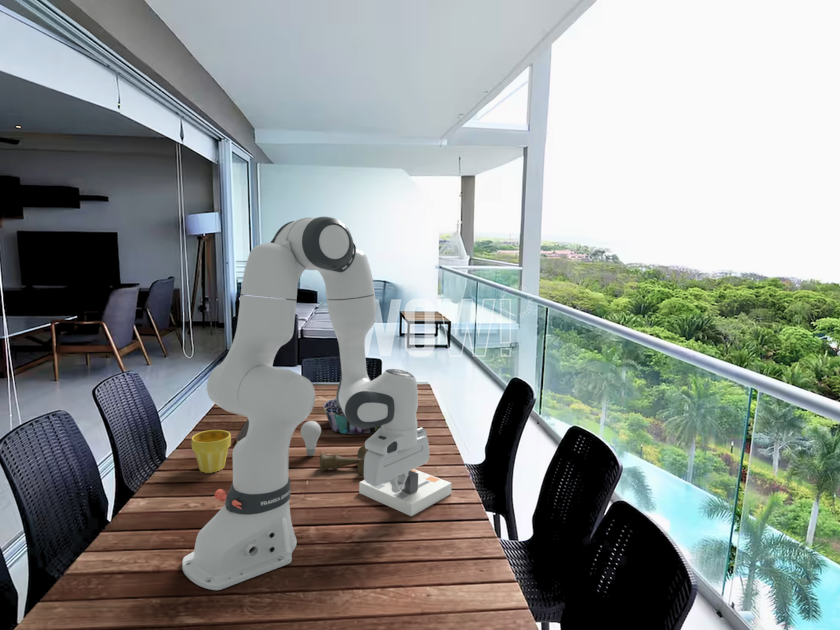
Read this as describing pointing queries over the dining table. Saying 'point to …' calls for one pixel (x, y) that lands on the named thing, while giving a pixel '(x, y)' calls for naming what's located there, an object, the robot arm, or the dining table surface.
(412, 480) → the block
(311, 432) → the lightbulb
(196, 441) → the plant pot
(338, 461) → the kendama
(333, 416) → the decorative bowl
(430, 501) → the breaker panel
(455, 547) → the dining table surface
